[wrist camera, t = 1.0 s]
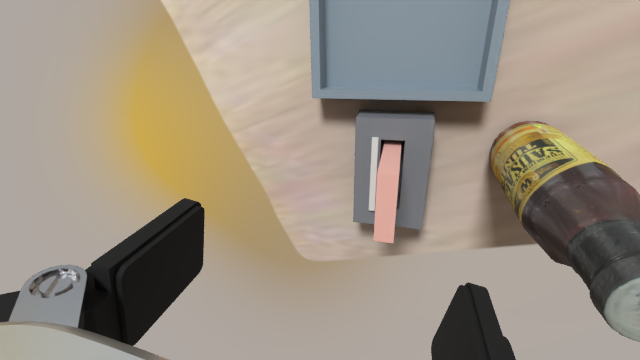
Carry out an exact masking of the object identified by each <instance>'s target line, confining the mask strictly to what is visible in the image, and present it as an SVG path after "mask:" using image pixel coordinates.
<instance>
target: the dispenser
mask: <svg viewBox="0 0 640 360" xmlns="http://www.w3.org/2000/svg"><path fill="white" fill-rule="evenodd" d="M434 126H435V118H434V112H409V111H373V110H360V111H359V114H358V115H357V117H356V134H355V176H354V217H353V222H359V223H368V224H374V222H375V204H376V185H377V172H378V168H379V163H380V159H381V155H382V151H383V147H384V143H385V140H401V141H402V143H401V157H400V170H399V182H398V194H397V206H396V218H395V227H404V228H413V229H422V224H423V216H424V207H425V199H426V191H427V183H428V175H429V167H430V158H431V150H432V142H433V134H434Z"/></svg>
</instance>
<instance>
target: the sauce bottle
mask: <svg viewBox="0 0 640 360" xmlns="http://www.w3.org/2000/svg"><path fill="white" fill-rule="evenodd" d="M490 162H491V167H492V170H493V172H494V174H495V176H496V178H497V179H498V181H499V183H500V185H501V187H502V188H503V190H504V192H505V194H506V196H507V197H508V199H509V201H510V203H511V205H512V207H513V209H514V211H515V212H516V214H517V216H518V218H519V220H520V222H521V224H522V226H523V227H524V229H525V230H526V231H527V232H528V233H529V234H530V235H531V236H532V238H533V239H534V240H535V241H536V242H537V243H538V244H539V245H540V246H541V248H542V249H543V250H544V251H545V252H546V253H547V254H548V255H549V256H550V258H551V259H553V260H554V261H555V262H557V263H560V264H564V265H567V266H570V267H572V268H573V269H574V271H575V272H576V273H577V274H579V275H580V277H581V278H582V279H583V281H584V283H585V284H586V285H587V287H588V289H589V290H590V298H591V300H592V302H593V304H594V306H595V307H596V309H597V310H598V311H599V312H600V314H601V315H602V316H603V318H604V319H605V321H606V322H607V324H608V325H609V326H610V327H611V328H612V329H614V330H615V331H616V332H618V333H619V334H621V335H622V336H625V337H627V338H630V339H632V340H635V341H639V342H640V195H639V193H638V192H637V191H636V190H635V189H634V188H633V187H632V186H631V185H629V184H628V183H627V182H626V181H624V180H622V179H621V177H620V176H619V175H618V174H617V173H616V172H615V171H614V170H613V169H611V168H610V167H608V166H607V165H606V164H604V163H603V162H602V161H600V160H599V159H598V158H596V157H595V156H594V155H592V154H591V153H590V152H588V151H587V150H586V149H584V148H583V147H582V146H580V145H579V144H577V143H576V142H574V141H573V140H572V139H570V138H569V137H567V136H566V135H565V134H563V133H562V132H561V131H559V130H558V129H556V128H554V127H552V126H549V125H547V124H546V123H542V122H538V121H527V122H520V123H517V124H514V125H512V126H510V127H509V128H507V129H506V130H504V131H503V132H502V133H500V134H499V136H498V137H497V138H496V139H495V140H494V143H493V145H492V150H491V156H490Z"/></svg>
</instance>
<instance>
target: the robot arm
mask: <svg viewBox="0 0 640 360" xmlns="http://www.w3.org/2000/svg"><path fill="white" fill-rule="evenodd" d="M203 246H204V208H203V207H201V204H200V203H199V202H196V201H193V200H190V199H186V198H184V199H182V200H181V201H179V202H178V203H176V204H175V205H174V206H172V207H171V208H169V209H168V210H166V211H165V212H164V213H162V214H161V215H159V216H158V217H156V218H155V219H154V220H152V221H151V222H149V223H148V224H147V225H145V226H144V227H142V228H141V229H139V230H138V231H137V232H135V233H134V234H132V235H131V236H129V237H128V238H127V239H125V240H124V241H122V242H121V243H119V244H118V245H117V246H115V247H114V248H112V249H111V250H109V251H108V252H107V253H105V254H104V255H103V256H101V257H100V258H98V259H97V260H95V261H94V262H93V263H91V265H92V266H90V267H89V268H87V269H86V270H84V269H83V268H81V267H78V266H74V265H60V266H55V267H51V268H48V269H45V270H42V271H40V272H38V273H37V274H35V275H33V276H32V277H31V278H29V279H28V280H27V281H26V282H25V284H24V285H23V287H22V289H21V291H17V292H12V293H6V294H2V295H0V360H168V359H166V358H163V357H160V356H158V355H155V354H153V353H150V352H147V351H145V350H142V349H139V348H136V347H134V346H133V345H135V344H136V343H137V342H138V341H139V340H140V339H141V337H142V336H143V335H144V334H145V333H146V332H147V331H148V330H149V328H150V327H151V326H152V325H153V324H154V323H155V322H156V321H157V320H158V318H159V317H160V316H161V315H162V314H163V313H164V312H165V311H166V309H167V308H168V307H169V306H170V305H171V304H172V302H174V301H175V299H176V298H177V297H178V296H179V295H180V294H181V293H182V292H183V290H184V289H185V288H186V287H187V286H188V285H189V284H190V283H191V281H192V280H193V279H194V278H195V277H196V276H197V274H199V272H200V270H201V269H202V266H203ZM431 353H432V360H516V359H515V356H514V353H513V350H512V348H511V345H510V343H509V341H508V339H507V338H506V337H504V336H503V335H502V332H501V329H500V326H499V323H498V320H497V317H496V314H495V311H494V308H493V305H492V302H491V299H490V296H489V293H488V290H487V289H486V288H485V287H482V286H478V285H475V284H471V283H466V285H465V286H463V285H460V286H459V287H458V289H457V291H456V293H455V295H454V297H453V299H452V301H451V303H450V305H449V307H448V310H447V311H446V314H445V316H444V318H443V320H442V322H441V324H440V326H439V328H438V330H437V332H436V334H435V336H434V338H433V341H432V346H431Z"/></svg>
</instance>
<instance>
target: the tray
mask: <svg viewBox="0 0 640 360" xmlns="http://www.w3.org/2000/svg"><path fill="white" fill-rule="evenodd" d="M309 1H310V36H311V70H312V98H333V99H382V100H432V101H482V102H491V99H492V93H493V88H494V83H495V77H496V72H497V67H498V61H499V56H500V51H501V45H502V40H503V35H504V29H505V24H506V18H507V13H508V8H509V2H510V0H309Z"/></svg>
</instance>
